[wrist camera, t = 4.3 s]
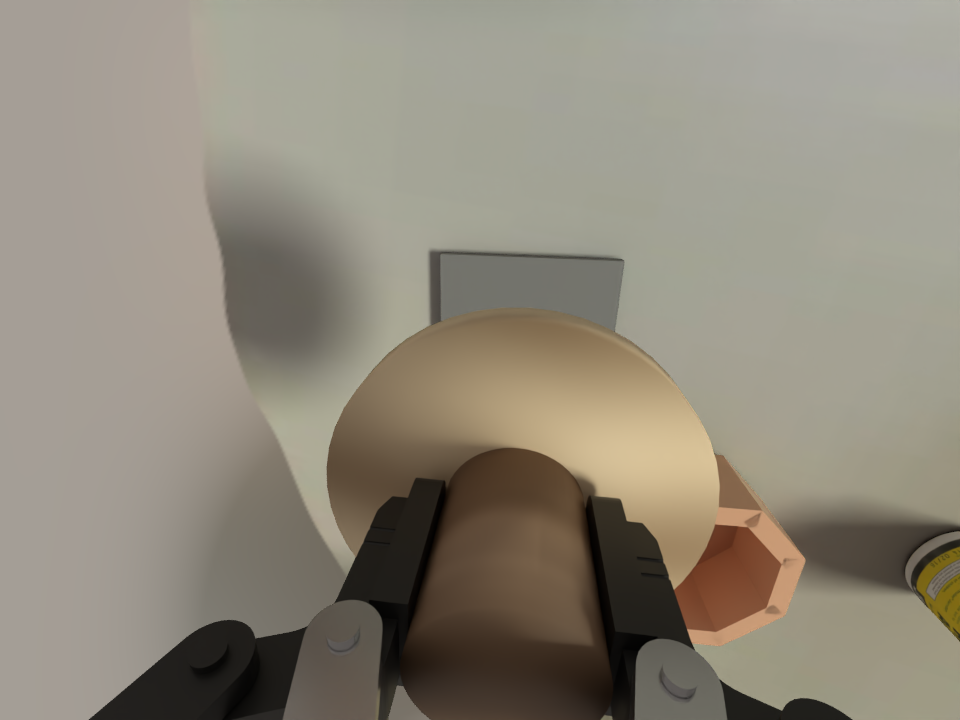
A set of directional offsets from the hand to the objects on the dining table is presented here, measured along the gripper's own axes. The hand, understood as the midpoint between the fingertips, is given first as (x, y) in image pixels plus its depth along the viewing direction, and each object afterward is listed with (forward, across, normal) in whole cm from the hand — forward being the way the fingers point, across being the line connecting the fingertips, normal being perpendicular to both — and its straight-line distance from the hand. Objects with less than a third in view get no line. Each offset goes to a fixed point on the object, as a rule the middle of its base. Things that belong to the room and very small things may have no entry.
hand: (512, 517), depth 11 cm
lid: (+2, 0, 0) cm, 2 cm away
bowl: (+14, -10, +11) cm, 20 cm away
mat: (+14, 0, +1) cm, 14 cm away
